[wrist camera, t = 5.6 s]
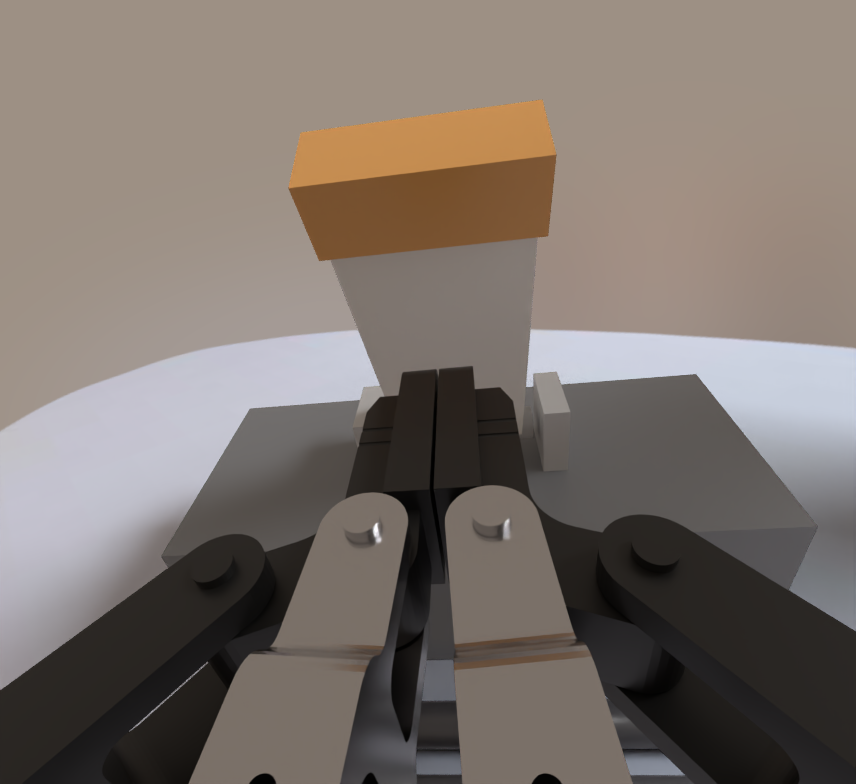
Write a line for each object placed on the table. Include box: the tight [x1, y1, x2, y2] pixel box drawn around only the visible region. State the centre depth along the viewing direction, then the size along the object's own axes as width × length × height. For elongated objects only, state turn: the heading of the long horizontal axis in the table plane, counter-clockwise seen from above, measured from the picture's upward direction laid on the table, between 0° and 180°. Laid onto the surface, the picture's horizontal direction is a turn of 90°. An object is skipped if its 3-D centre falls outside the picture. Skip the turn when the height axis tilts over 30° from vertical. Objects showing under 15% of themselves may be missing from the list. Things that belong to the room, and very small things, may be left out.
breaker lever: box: [289, 100, 556, 439], centre depth 16 cm, size 2×6×14 cm, turn 89°
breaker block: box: [161, 372, 818, 784], centre depth 21 cm, size 17×24×11 cm
